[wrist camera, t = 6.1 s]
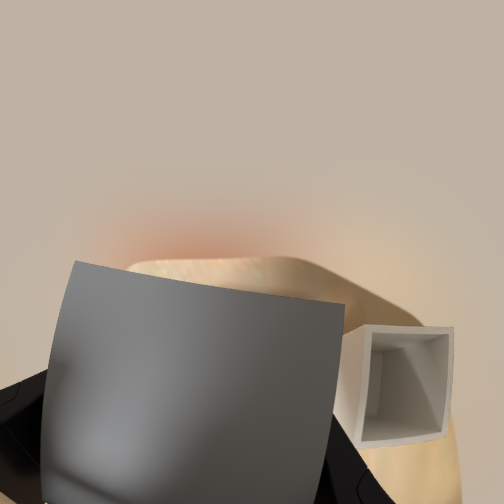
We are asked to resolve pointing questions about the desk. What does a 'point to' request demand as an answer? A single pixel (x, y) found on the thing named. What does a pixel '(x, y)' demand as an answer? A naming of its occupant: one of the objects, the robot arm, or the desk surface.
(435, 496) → the desk surface
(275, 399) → the gray block
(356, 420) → the white open box
